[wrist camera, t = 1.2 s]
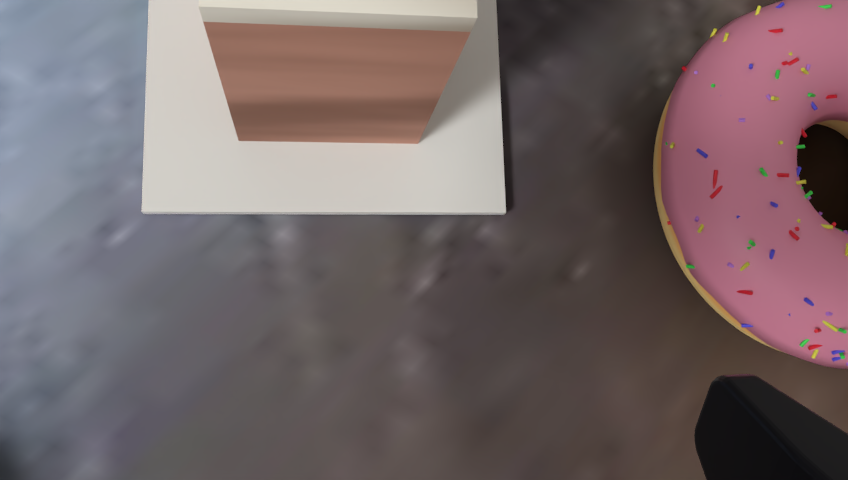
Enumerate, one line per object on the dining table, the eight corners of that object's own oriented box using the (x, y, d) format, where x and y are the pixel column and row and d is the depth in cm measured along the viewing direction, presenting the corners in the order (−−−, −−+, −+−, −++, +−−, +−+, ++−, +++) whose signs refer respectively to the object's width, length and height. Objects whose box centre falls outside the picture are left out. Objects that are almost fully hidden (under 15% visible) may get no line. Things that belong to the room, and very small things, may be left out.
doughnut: (597, 44, 24) (656, -24, 20) (905, 14, 26) (1017, -53, 22) (669, 398, 22) (749, 403, 18) (991, 339, 24) (1129, 332, 20)
